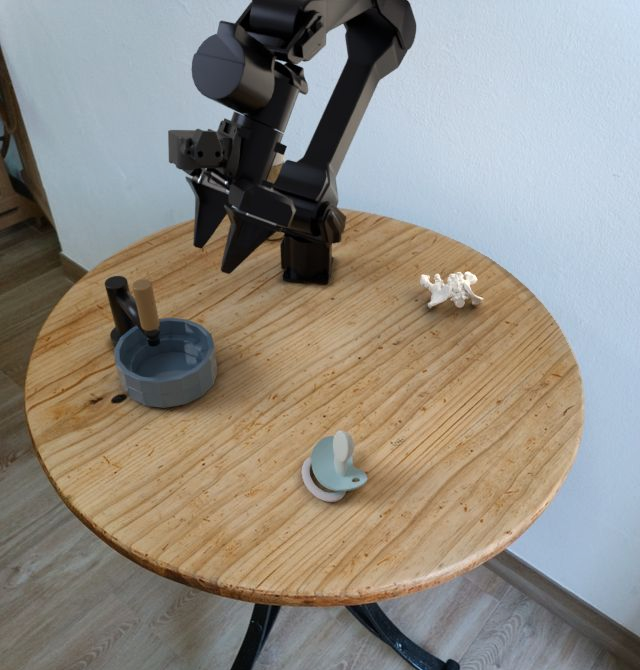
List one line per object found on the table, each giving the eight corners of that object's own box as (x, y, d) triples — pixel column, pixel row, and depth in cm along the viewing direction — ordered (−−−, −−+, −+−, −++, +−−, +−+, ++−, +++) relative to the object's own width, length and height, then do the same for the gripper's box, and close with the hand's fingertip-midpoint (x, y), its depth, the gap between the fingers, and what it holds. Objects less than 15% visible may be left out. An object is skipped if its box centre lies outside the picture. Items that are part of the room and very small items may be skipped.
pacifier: (319, 514, 69) (372, 495, 70) (317, 475, 64) (375, 455, 66) (291, 462, 73) (343, 445, 75) (288, 423, 69) (343, 405, 70)
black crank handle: (114, 331, 86) (91, 243, 77) (133, 323, 87) (113, 236, 78) (154, 382, 80) (134, 293, 71) (174, 373, 81) (157, 284, 72)
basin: (226, 351, 85) (223, 322, 82) (204, 415, 78) (199, 386, 75) (139, 342, 86) (132, 313, 83) (108, 404, 79) (99, 375, 75)
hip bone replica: (475, 260, 93) (492, 285, 88) (470, 287, 96) (486, 313, 91) (418, 264, 92) (432, 289, 87) (415, 291, 95) (428, 318, 90)
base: (152, 331, 88) (150, 323, 87) (141, 353, 85) (139, 346, 84) (118, 327, 88) (117, 320, 87) (107, 349, 85) (104, 342, 84)
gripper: (163, 80, 76) (122, 216, 81) (224, 105, 62) (170, 267, 67) (250, 119, 83) (207, 243, 88) (322, 150, 69) (266, 294, 74)
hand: (210, 259), depth 79 cm, fingers open, 9 cm apart
